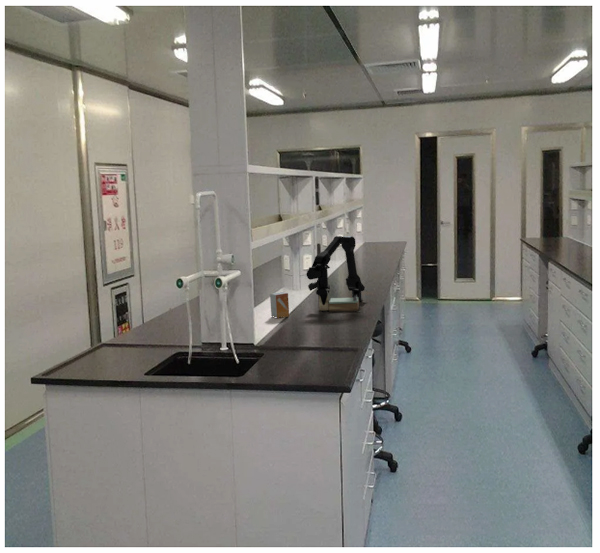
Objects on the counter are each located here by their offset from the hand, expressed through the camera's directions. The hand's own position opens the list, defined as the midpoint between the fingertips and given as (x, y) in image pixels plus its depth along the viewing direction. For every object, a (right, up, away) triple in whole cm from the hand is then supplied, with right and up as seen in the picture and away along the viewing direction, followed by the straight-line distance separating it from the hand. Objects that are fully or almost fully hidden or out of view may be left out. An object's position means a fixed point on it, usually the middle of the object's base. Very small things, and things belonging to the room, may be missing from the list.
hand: (324, 304), depth 337 cm
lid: (+11, +2, -2) cm, 11 cm away
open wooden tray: (+11, -3, -1) cm, 12 cm away
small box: (-25, -6, -12) cm, 28 cm away
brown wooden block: (0, -3, 0) cm, 3 cm away
